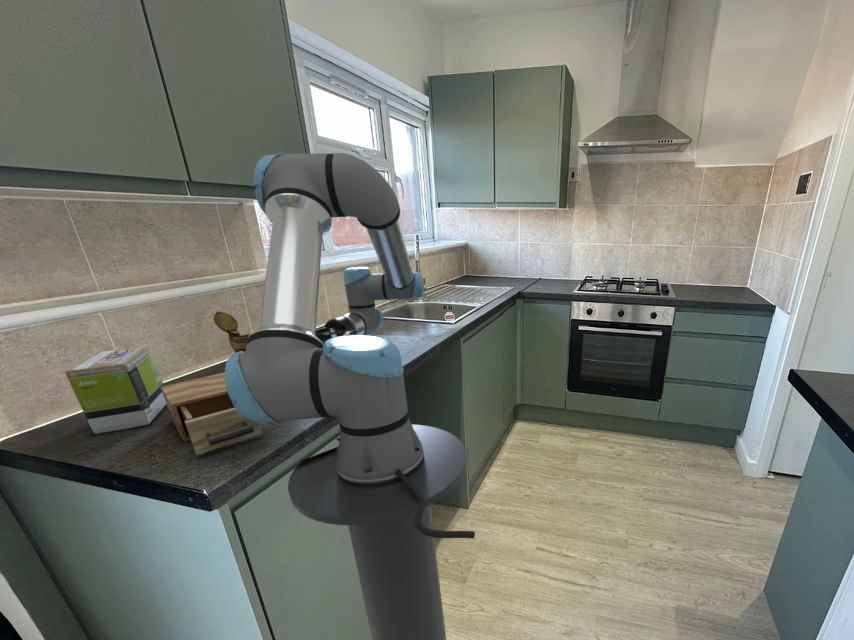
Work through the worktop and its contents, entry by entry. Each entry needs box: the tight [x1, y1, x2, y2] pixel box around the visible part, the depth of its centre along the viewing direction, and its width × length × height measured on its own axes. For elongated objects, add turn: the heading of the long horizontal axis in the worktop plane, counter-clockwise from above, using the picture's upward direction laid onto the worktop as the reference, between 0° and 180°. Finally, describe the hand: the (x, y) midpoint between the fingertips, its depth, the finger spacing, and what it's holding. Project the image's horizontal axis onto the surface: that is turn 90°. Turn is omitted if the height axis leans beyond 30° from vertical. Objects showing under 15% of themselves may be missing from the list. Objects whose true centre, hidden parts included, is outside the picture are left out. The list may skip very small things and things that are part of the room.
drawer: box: [178, 394, 263, 456], centre depth 83 cm, size 18×11×7 cm, turn 45°
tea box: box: [64, 345, 167, 435], centre depth 94 cm, size 15×10×15 cm
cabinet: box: [161, 372, 228, 443], centre depth 91 cm, size 14×12×8 cm
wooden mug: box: [213, 310, 251, 354], centre depth 122 cm, size 9×14×18 cm, turn 70°
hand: (287, 351), depth 96 cm, fingers open, 13 cm apart
